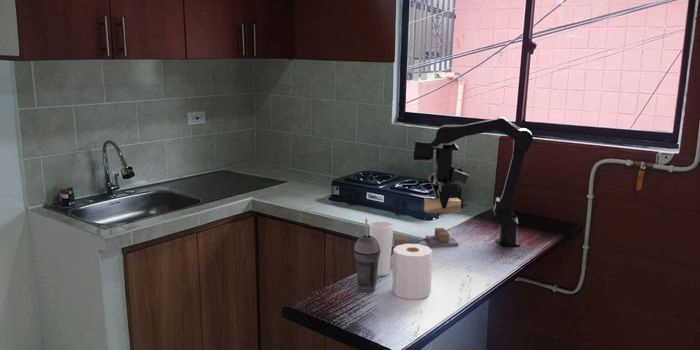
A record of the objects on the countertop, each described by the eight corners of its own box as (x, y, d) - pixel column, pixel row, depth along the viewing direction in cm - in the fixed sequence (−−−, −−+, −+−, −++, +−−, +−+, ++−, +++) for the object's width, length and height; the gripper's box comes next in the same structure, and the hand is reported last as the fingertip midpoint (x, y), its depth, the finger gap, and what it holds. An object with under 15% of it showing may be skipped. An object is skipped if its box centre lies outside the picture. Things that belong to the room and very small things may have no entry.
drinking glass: (378, 267, 173) (378, 219, 170) (396, 272, 169) (397, 223, 166) (364, 273, 168) (364, 224, 165) (382, 279, 164) (384, 229, 161)
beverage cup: (357, 297, 152) (358, 224, 147) (350, 286, 158) (350, 217, 154) (383, 294, 153) (385, 222, 149) (375, 284, 160) (376, 215, 156)
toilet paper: (407, 281, 163) (409, 240, 160) (438, 291, 156) (439, 249, 153) (384, 291, 155) (385, 249, 153) (415, 303, 148) (416, 259, 146)
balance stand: (458, 245, 193) (458, 234, 192) (432, 246, 192) (432, 235, 191) (450, 237, 202) (450, 226, 201) (425, 238, 201) (425, 227, 200)
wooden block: (406, 265, 175) (407, 240, 173) (393, 264, 176) (394, 239, 174) (408, 261, 178) (409, 236, 177) (396, 259, 180) (396, 235, 178)
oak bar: (460, 212, 198) (461, 200, 197) (426, 212, 196) (426, 201, 196) (457, 209, 202) (457, 198, 201) (423, 209, 200) (424, 198, 200)
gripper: (475, 167, 187) (473, 213, 190) (459, 157, 205) (457, 199, 209) (442, 167, 186) (440, 214, 189) (428, 157, 204) (427, 200, 207)
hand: (442, 206), depth 199 cm, fingers closed on oak bar, 4 cm apart
